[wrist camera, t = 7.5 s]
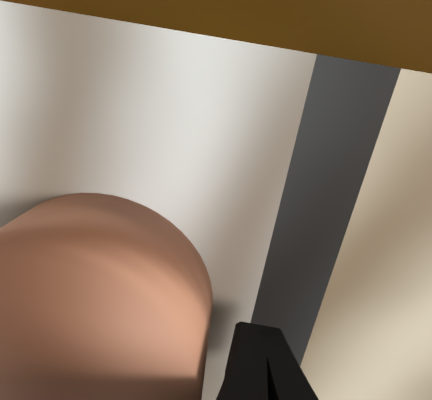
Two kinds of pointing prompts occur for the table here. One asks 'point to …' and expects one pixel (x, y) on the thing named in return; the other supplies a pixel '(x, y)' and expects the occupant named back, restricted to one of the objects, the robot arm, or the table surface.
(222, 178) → the board
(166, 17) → the table surface
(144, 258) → the puck
